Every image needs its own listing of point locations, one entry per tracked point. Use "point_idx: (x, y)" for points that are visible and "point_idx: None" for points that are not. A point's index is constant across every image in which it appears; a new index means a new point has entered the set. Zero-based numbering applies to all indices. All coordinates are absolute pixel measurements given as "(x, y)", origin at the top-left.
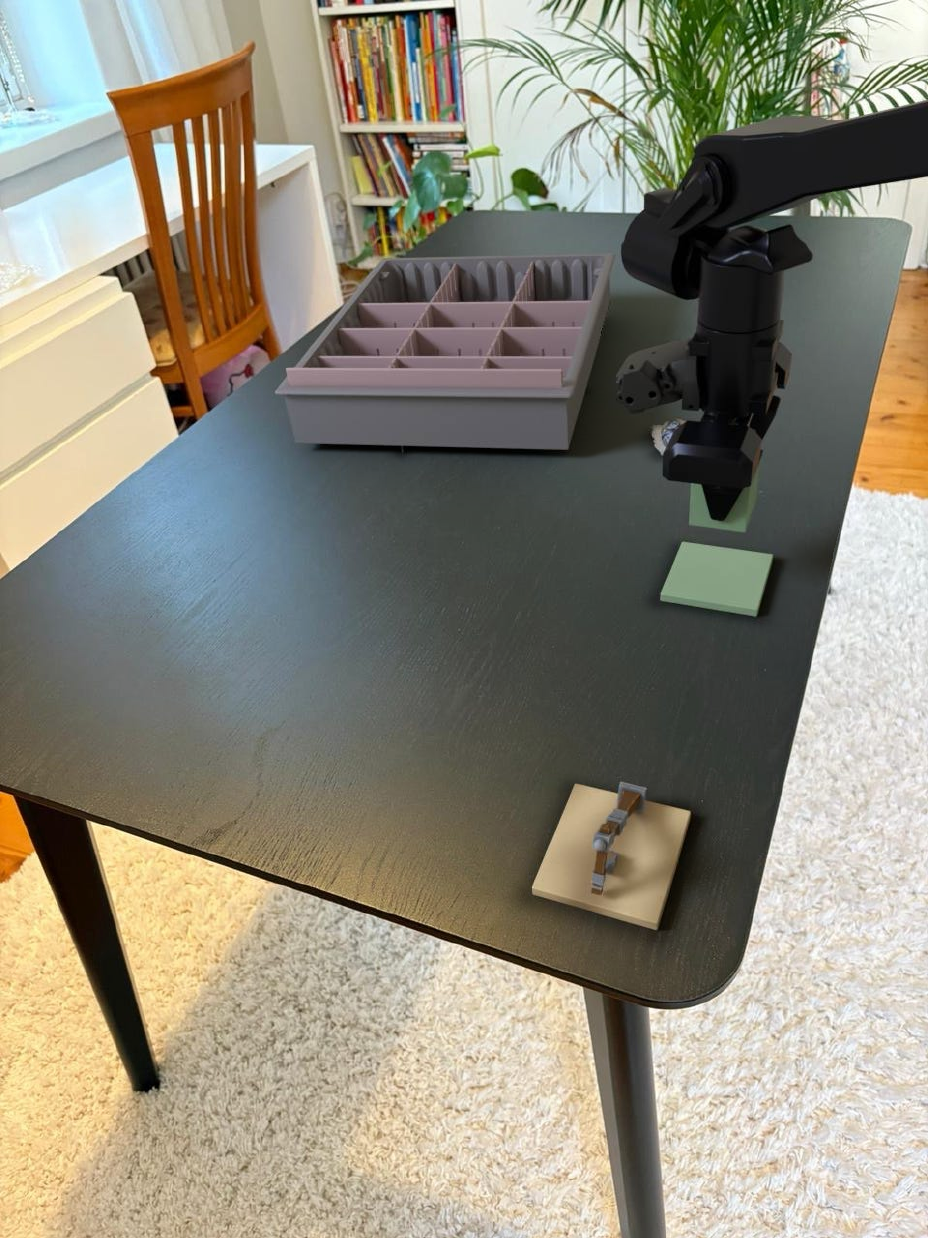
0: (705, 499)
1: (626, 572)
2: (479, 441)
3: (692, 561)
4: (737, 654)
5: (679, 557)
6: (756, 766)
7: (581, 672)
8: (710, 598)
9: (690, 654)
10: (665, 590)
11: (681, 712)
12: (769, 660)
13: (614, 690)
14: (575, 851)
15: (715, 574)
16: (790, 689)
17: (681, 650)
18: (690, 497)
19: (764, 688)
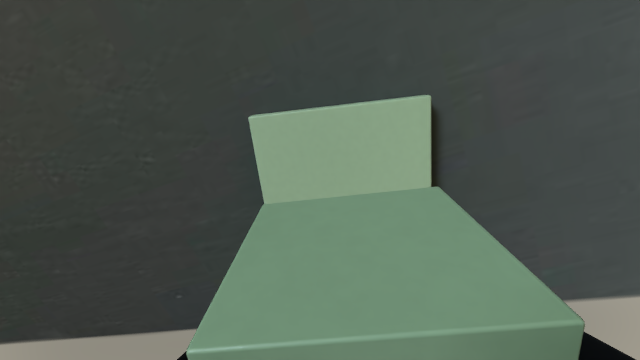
0: (183, 354)
1: (311, 14)
2: None
3: (368, 138)
4: (189, 260)
5: (372, 110)
6: (23, 325)
7: (10, 57)
8: (273, 201)
9: (153, 204)
10: (260, 122)
11: (40, 229)
12: (199, 297)
13: (13, 128)
14: None
15: (342, 189)
16: (162, 328)
17: (154, 189)
18: (236, 258)
19: (146, 304)
